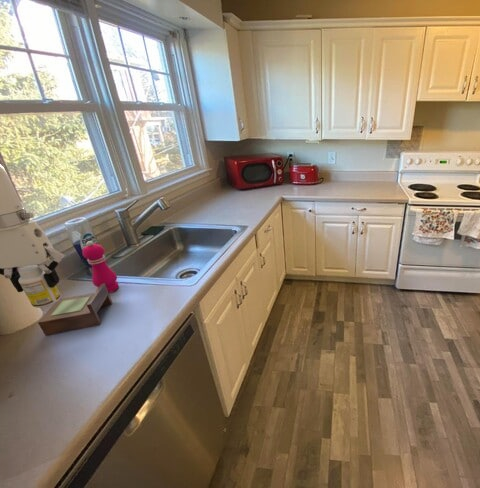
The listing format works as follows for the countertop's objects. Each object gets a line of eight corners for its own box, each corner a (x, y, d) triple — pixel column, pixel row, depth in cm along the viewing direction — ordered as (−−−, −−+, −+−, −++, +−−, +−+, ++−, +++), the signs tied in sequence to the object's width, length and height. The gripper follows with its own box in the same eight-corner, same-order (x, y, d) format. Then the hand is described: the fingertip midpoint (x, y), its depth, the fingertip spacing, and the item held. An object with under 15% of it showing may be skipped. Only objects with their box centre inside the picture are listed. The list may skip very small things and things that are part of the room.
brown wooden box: (45, 335, 84) (32, 314, 80) (64, 311, 94) (54, 291, 91) (100, 324, 88) (90, 304, 84) (112, 302, 98) (104, 283, 95)
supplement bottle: (52, 294, 75) (35, 261, 71) (66, 297, 74) (50, 264, 70) (27, 306, 71) (7, 271, 66) (42, 310, 69) (23, 275, 65)
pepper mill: (109, 295, 102) (88, 246, 93) (92, 293, 103) (70, 245, 94) (125, 284, 108) (107, 237, 99) (109, 282, 109) (89, 236, 101)
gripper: (59, 210, 68) (86, 274, 76) (-33, 217, 63) (6, 284, 71) (41, 221, 62) (73, 289, 69) (-62, 230, 57) (-16, 302, 65)
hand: (39, 286), depth 70 cm, fingers closed on supplement bottle, 5 cm apart
